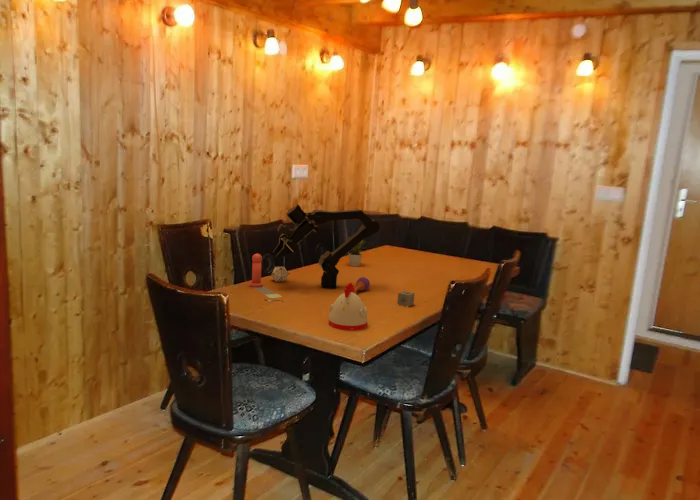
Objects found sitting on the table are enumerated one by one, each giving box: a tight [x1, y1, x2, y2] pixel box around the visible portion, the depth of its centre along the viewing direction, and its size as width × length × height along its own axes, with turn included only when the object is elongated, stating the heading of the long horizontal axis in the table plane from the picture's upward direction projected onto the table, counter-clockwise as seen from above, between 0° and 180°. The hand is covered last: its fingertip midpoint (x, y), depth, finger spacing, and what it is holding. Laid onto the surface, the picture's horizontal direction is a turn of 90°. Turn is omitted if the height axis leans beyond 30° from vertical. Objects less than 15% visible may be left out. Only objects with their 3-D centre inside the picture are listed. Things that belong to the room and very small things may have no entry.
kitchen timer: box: [328, 282, 368, 331], centre depth 201 cm, size 14×14×15 cm
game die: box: [269, 265, 291, 283], centre depth 256 cm, size 9×8×10 cm
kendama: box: [354, 276, 371, 294], centre depth 245 cm, size 6×6×20 cm
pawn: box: [249, 253, 264, 288], centre depth 244 cm, size 6×6×14 cm
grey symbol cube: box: [396, 290, 416, 308], centre depth 232 cm, size 5×5×5 cm
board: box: [248, 284, 283, 303], centre depth 238 cm, size 27×9×1 cm, turn 32°
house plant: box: [344, 236, 368, 267], centre depth 304 cm, size 14×14×16 cm
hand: (274, 256), depth 245 cm, fingers open, 9 cm apart
